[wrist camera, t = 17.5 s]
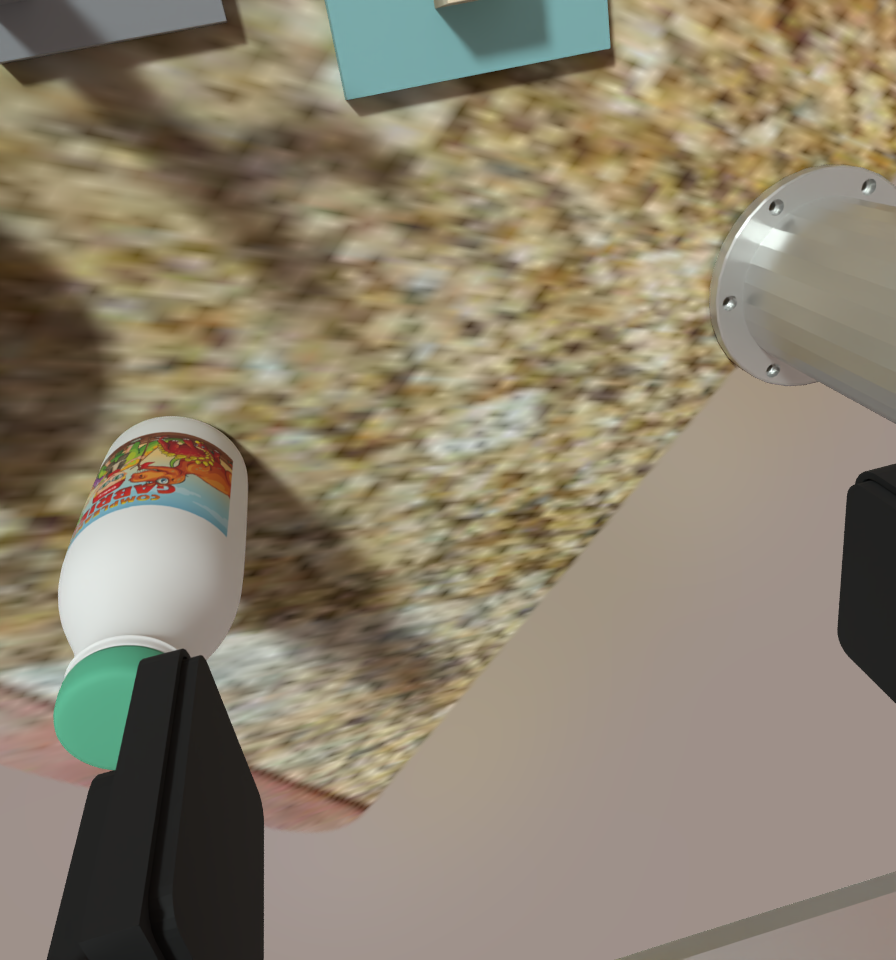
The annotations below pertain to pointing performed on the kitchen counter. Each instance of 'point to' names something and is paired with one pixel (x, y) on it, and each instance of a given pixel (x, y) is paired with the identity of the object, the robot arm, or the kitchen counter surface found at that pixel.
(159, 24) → the rack
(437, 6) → the rail
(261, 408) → the kitchen counter surface
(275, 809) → the kitchen counter surface
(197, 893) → the robot arm
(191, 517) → the milk bottle
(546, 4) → the mat
